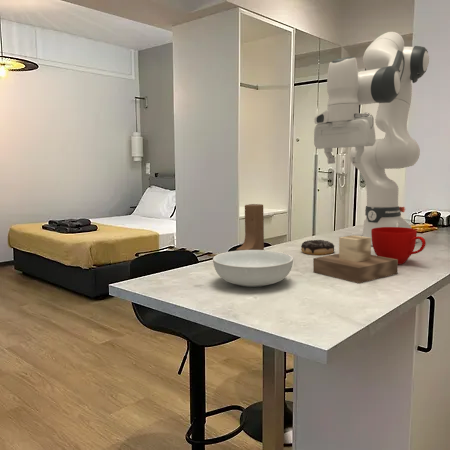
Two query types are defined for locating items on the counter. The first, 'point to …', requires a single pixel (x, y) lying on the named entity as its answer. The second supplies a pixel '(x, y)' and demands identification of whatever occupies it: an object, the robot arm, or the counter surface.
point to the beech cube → (355, 248)
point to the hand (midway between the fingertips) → (343, 163)
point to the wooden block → (253, 228)
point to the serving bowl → (253, 267)
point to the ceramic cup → (395, 242)
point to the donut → (317, 247)
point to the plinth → (355, 268)
